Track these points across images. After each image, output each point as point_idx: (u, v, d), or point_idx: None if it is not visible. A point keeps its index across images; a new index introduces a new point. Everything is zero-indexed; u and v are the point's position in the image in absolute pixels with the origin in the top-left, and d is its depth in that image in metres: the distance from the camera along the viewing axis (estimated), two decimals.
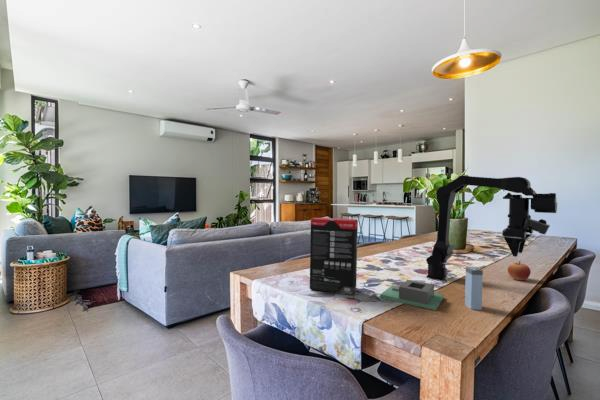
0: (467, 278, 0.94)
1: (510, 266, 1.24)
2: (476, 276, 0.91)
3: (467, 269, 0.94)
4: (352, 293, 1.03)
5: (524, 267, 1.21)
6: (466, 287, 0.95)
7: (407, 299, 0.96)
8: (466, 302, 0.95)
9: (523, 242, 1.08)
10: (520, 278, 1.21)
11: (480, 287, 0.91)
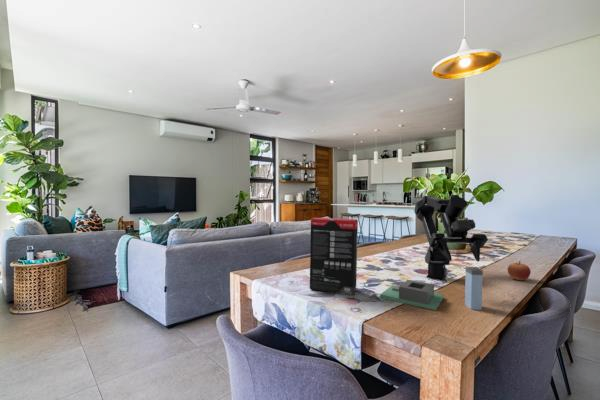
0: (467, 278, 0.94)
1: (510, 266, 1.24)
2: (476, 276, 0.91)
3: (467, 269, 0.94)
4: (352, 293, 1.03)
5: (524, 267, 1.21)
6: (466, 287, 0.95)
7: (407, 299, 0.96)
8: (466, 302, 0.95)
9: (476, 249, 1.02)
10: (520, 278, 1.21)
11: (480, 287, 0.91)
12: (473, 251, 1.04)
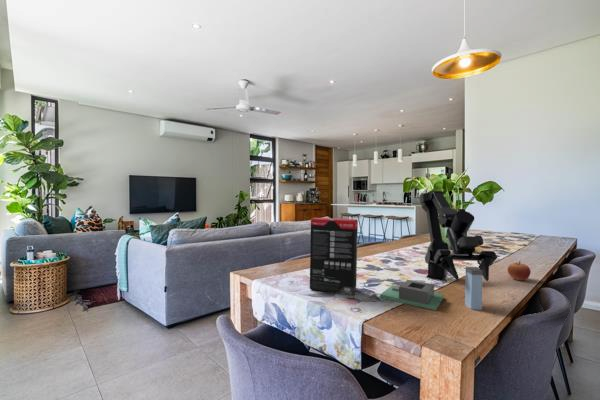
0: (467, 278, 0.94)
1: (510, 266, 1.24)
2: (476, 276, 0.91)
3: (467, 269, 0.94)
4: (352, 293, 1.03)
5: (524, 267, 1.21)
6: (466, 287, 0.95)
7: (407, 299, 0.96)
8: (466, 302, 0.95)
9: (484, 268, 0.96)
10: (520, 278, 1.21)
11: (480, 287, 0.91)
12: (481, 269, 0.98)
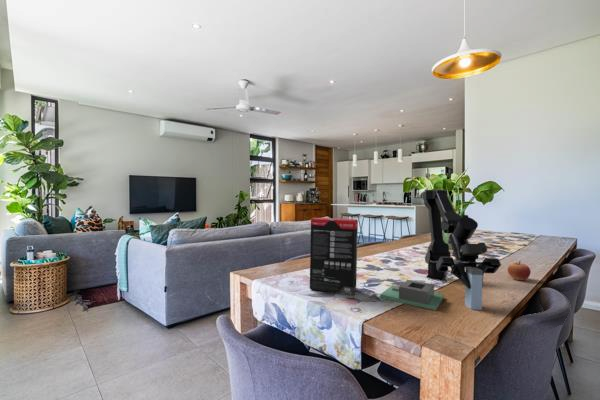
0: None
1: (510, 266, 1.24)
2: (476, 276, 0.91)
3: (467, 269, 0.94)
4: (352, 293, 1.03)
5: (524, 267, 1.21)
6: (466, 287, 0.95)
7: (407, 299, 0.96)
8: (466, 302, 0.95)
9: None
10: (520, 278, 1.21)
11: (480, 287, 0.91)
12: None
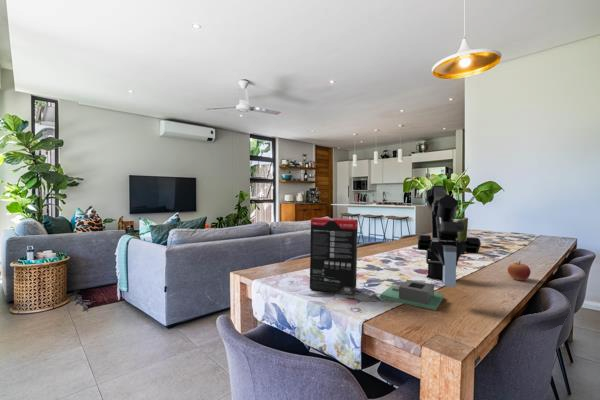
0: None
1: (510, 266, 1.24)
2: (450, 253, 0.92)
3: (443, 247, 0.95)
4: (352, 293, 1.03)
5: (524, 267, 1.21)
6: None
7: (407, 299, 0.96)
8: (443, 279, 0.96)
9: None
10: (520, 278, 1.21)
11: (454, 264, 0.92)
12: None
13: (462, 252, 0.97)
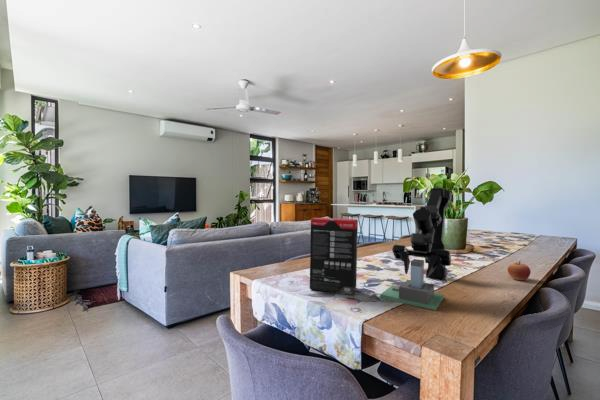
0: None
1: (510, 266, 1.24)
2: (415, 267, 0.97)
3: None
4: (352, 293, 1.03)
5: (524, 267, 1.21)
6: None
7: (407, 299, 0.96)
8: None
9: None
10: (520, 278, 1.21)
11: (418, 278, 0.96)
12: None
13: (439, 264, 0.98)
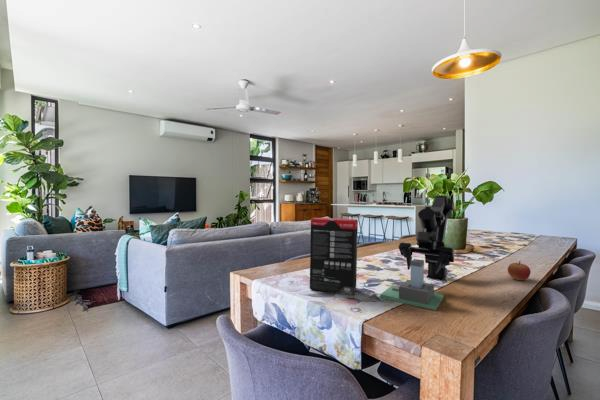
0: None
1: (510, 266, 1.24)
2: (415, 267, 0.97)
3: None
4: (352, 293, 1.03)
5: (524, 267, 1.21)
6: None
7: (407, 299, 0.96)
8: None
9: (437, 262, 1.02)
10: (520, 278, 1.21)
11: (418, 278, 0.96)
12: None
13: (447, 261, 1.04)
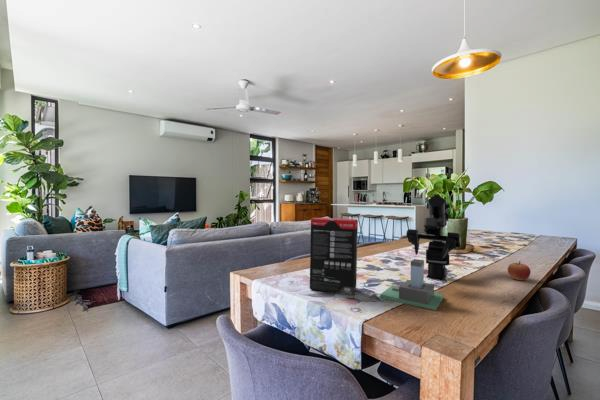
0: None
1: (510, 266, 1.24)
2: (415, 267, 0.97)
3: None
4: (352, 293, 1.03)
5: (524, 267, 1.21)
6: None
7: (407, 299, 0.96)
8: None
9: None
10: (520, 278, 1.21)
11: (418, 278, 0.96)
12: None
13: (454, 246, 1.07)
